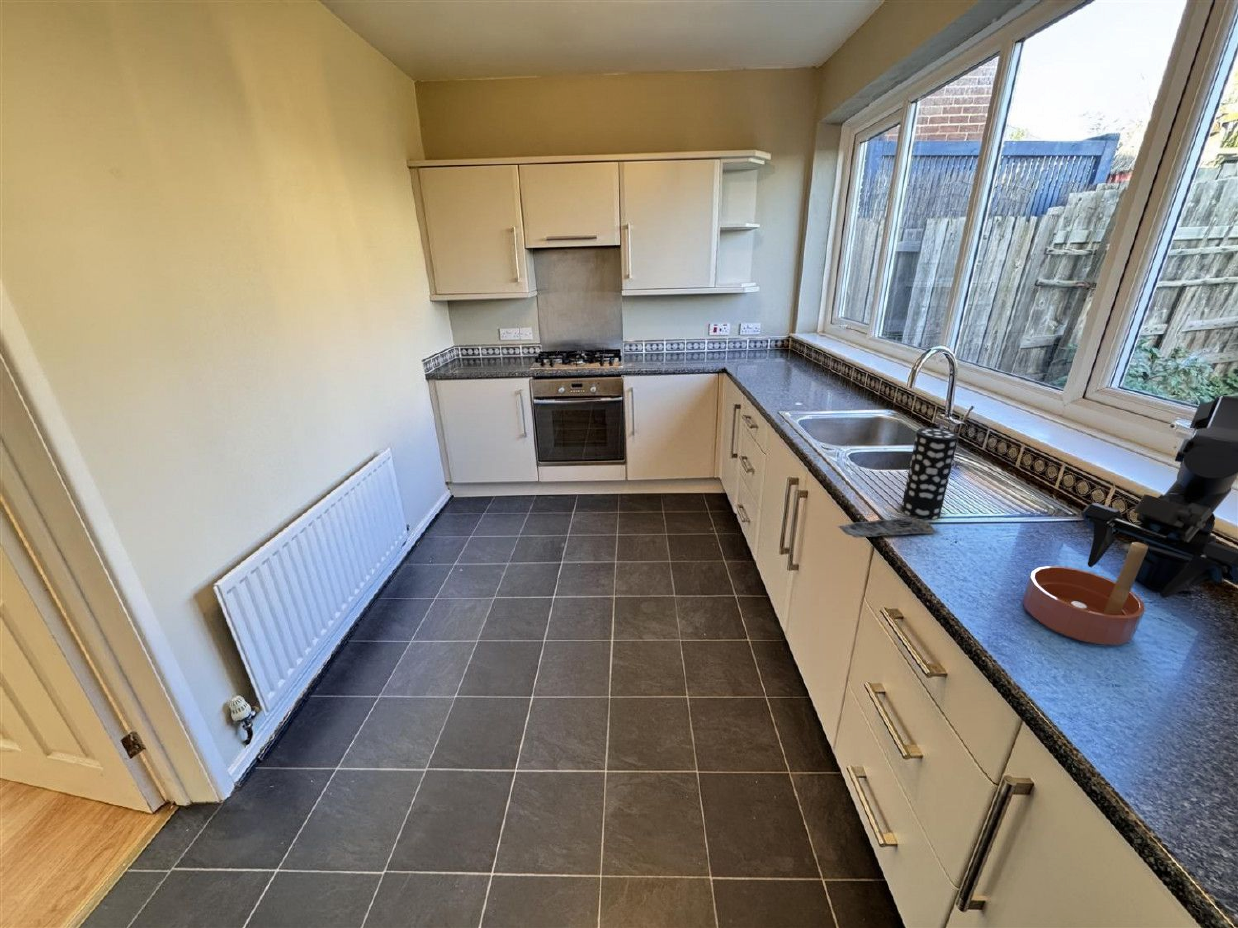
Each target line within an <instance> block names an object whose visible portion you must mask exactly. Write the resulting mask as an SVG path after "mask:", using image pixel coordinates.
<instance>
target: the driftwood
mask: <svg viewBox="0 0 1238 928" xmlns="http://www.w3.org/2000/svg"><path fill="white" fill-rule="evenodd" d="M838 528H839V529H840V530H841V531H842V532H843V533H844V534H845V535H847V536H851V537H853V538H855V539H859V538H872V537H881V536H896V535H897V536H898V535H900V536H901V535H913V534H915V535H916V534H928V535H929V534H931V535H932V534H936V532H937V531H936V529H934V527H933V525H931V523H929V522H928V521H925V520H924V519H920V518H917V517H904V518H903V517H901V518H899V517H898V518H891V519H876V520H870V521H863V522H862V521H856V522H852V523H849V524H844V525H843V524H842V525H839V526H838Z"/></svg>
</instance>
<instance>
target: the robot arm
mask: <svg viewBox="0 0 1238 928" xmlns="http://www.w3.org/2000/svg"><path fill="white" fill-rule="evenodd" d="M1189 429H1192V430H1193V432H1192V434H1191V437H1190V438H1184V439H1183V440H1182V443H1181V445H1180V446H1179V449H1178V451H1177V453H1176V455H1175V459H1174V462H1178V463H1180V464H1179V469H1178V471H1177V474H1176V479H1175V481H1174V482H1173V484H1172V485H1171V486H1170V487H1169V489H1167V491H1166V492H1165V493H1164V494H1160V495H1159V496H1154V495H1150V494H1147V493H1145V494H1143V495H1142V497H1141V499H1140V501H1139V502H1138V504H1137V505H1136V507H1135V508H1134V510H1133V513H1134V514H1137V515H1136V521H1138V522H1140V523H1139V524H1137V523H1134V522H1131V521H1128V520H1126V519H1123V516H1122V513H1121V510H1118V509H1116V508H1113V507H1110V506H1107V505H1105V504H1104V505H1103V504H1101V503H1098V502H1094V503H1093V502H1092V503H1090V504H1087V505H1086V507H1085V508H1083V510H1082V511H1081V516H1082V518H1083V521H1084V523H1085V526H1086V527H1087V528H1088V529H1089V530H1090V531H1091V534H1092V535H1093V538H1092V539H1093V540H1092V545H1091V548H1090V553H1089V555H1088V560H1087V566H1088V567H1089V568H1093V567H1094V566H1095V565H1096V564H1097V563H1099V561H1100V560H1101V559H1102V558H1103V556H1104V555H1105V554H1106V552H1107V551H1108V550H1109V549H1110V548H1111V546H1112V545H1114V543H1115V541H1116V540H1115V537H1114V536H1118V534H1119V533H1123V534H1126V535H1129V536H1132V537H1135V538H1137V539H1140V540H1139V541H1138V543H1142V544H1145V545H1147V546H1148V549H1147V552H1146V554H1145V557H1144V559H1143V561H1142V564H1141V566H1140V569H1139V571H1138V573H1137V576H1136V578H1135V580H1136V581H1138V582H1139V583H1141V584H1142V585H1144V586H1145V587H1147V588H1148V589H1150V590H1151V591H1153V592H1157V593H1158V592H1160V593H1159V597H1160V598H1162V599H1167V598H1169V597H1171V596H1174V595H1175V594H1178V593H1192V592H1193V589H1192V587H1195V586H1199V585H1202V584H1206V583H1209V582H1215V583H1220V584H1222V583H1223V582H1225V580H1226V581H1229V582H1231V583H1234V584H1238V549H1236V548H1234V547H1230V546H1227V545H1225V544H1221V543H1218V542H1217V539H1216V538H1217V536H1216V535H1212V532H1213V530H1214V527H1215V525H1216V522H1215V521H1216V516H1215V514H1214V512H1216V510H1217V509H1218V507H1219V506H1220V505H1221V504H1222V503H1223V501H1224V500H1225V499H1226V498H1227V496H1228V495H1229V494H1230V493H1231V491H1232V486H1233V484H1234V483H1235V481H1236V479H1237V478H1238V396H1231V395H1220V396H1219V395H1216V396H1215V398H1214V400H1210V401H1206V402H1203V403H1200V404H1198V407H1197V408H1196V411H1195V414H1194V416H1193V418H1192V421H1191V423H1190V425H1189Z"/></svg>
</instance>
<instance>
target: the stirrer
mask: <svg viewBox="0 0 1238 928" xmlns="http://www.w3.org/2000/svg"><path fill="white" fill-rule="evenodd" d="M1147 549H1148V546H1147V545H1145V544H1142V543H1139V541H1132V542H1131V544H1130V547H1129V549H1128V551H1127V554H1126V556H1125V559H1124V561H1123V563H1122V566H1121V569H1120V572H1119V573H1118V576H1117V579H1116V581H1115V582H1116V583H1115V586H1114V588H1113V591H1112V593H1111V596H1110V598H1109V601H1108V603H1107V606H1106V608H1105V611H1104V613H1103V614H1107V615H1120V614H1121V611H1122V609H1123V607H1124V604H1125V602H1126V599H1127V597H1128V595H1129V592H1130V591H1131V590H1132V587H1133V585H1134V583H1135V580H1136V579H1135V578H1136V576H1137V573H1138V571H1139V569H1140V566H1141V564H1142V561H1143V559H1144V557H1145V554H1146V552H1147ZM1059 600H1060V599H1059ZM1061 601H1062V600H1061ZM1064 602H1065V601H1064ZM1066 603H1067V602H1066ZM1068 604H1069V603H1068ZM1071 605H1073V606H1075V607H1079V608H1082V609H1085V610H1086V609H1087V606H1086V605H1085V604H1083V603H1080V602H1077V601H1073V602H1071Z"/></svg>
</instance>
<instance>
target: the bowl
mask: <svg viewBox="0 0 1238 928" xmlns="http://www.w3.org/2000/svg"><path fill="white" fill-rule="evenodd" d="M1115 583H1116V581H1114V580H1112V579H1110V578H1107V577H1104V576H1102V575H1099V574H1097V573H1094V572H1090V571H1086V570H1082V569H1078V568H1074V567H1068V566H1060V565H1045V566H1039V567H1036V568H1035V569H1034V570H1032V571H1031V572H1030V575H1029V578H1028V581H1027V583H1026V587H1025V590H1024V593H1023V595H1022V596H1023V597H1022V601H1021V603H1022V605H1023V607H1024V608H1025V610H1026V611H1027V612H1028V613H1029V614H1030V615H1031V616H1032V617H1033V618H1034V619H1036V621H1038V622H1040V623H1041V624H1042V625H1044V627H1046V628H1048V629H1050V630H1052V631H1054V632H1056V633H1058V634H1061V635H1062V636H1065V637H1067V638H1071V639H1073V640H1076V641H1079V642H1084V643H1089V644H1094V645H1103V646H1104V645H1107V646H1110V645H1111V646H1118V645H1122V644H1127V643H1129V642H1130V641H1131V640H1132V639H1133V638H1134V637H1135V634H1136V632H1137V630H1138V628H1139V625H1140V623H1141V621H1142V618H1143V616H1144V613H1145V612H1146V607H1145V603H1144V602H1143V600H1141V598H1140V597H1139V596H1138V595H1137V594H1136V593H1134V592H1133V591H1131V590H1130V592H1129V595H1128V597H1127V599H1126V602H1125V604H1124V607H1123V609H1122V611H1121V614H1120V615H1107V614H1103V613H1104V611H1105V608H1106V606H1107V603H1108V601H1109V598H1110V596H1111V593H1112V591H1113V588H1114V586H1115ZM1059 599H1060V600H1059ZM1061 600H1062V601H1061ZM1064 601H1065V602H1064ZM1073 601H1077V602H1080V603H1083V604H1085V605H1086V606H1087V609H1086V610H1085V609H1082V608H1079V607H1075V606H1073V605H1071V602H1073ZM1066 602H1067V603H1066ZM1068 603H1069V604H1068Z"/></svg>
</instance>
